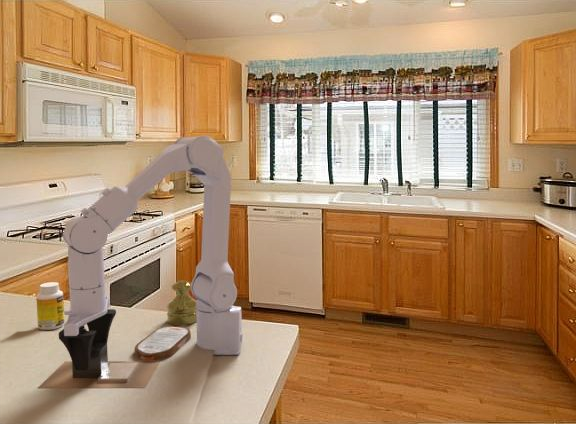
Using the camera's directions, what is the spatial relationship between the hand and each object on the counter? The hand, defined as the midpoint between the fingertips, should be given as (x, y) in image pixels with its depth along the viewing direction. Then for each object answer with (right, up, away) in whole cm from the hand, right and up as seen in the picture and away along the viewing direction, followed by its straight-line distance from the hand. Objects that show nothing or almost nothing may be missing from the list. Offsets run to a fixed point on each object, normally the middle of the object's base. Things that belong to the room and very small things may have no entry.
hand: (91, 359), depth 81 cm
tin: (+5, -1, +14) cm, 15 cm away
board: (+2, -4, +1) cm, 4 cm away
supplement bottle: (-20, -1, +26) cm, 33 cm away
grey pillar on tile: (+2, -3, 0) cm, 4 cm away
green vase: (+9, -1, +30) cm, 32 cm away
